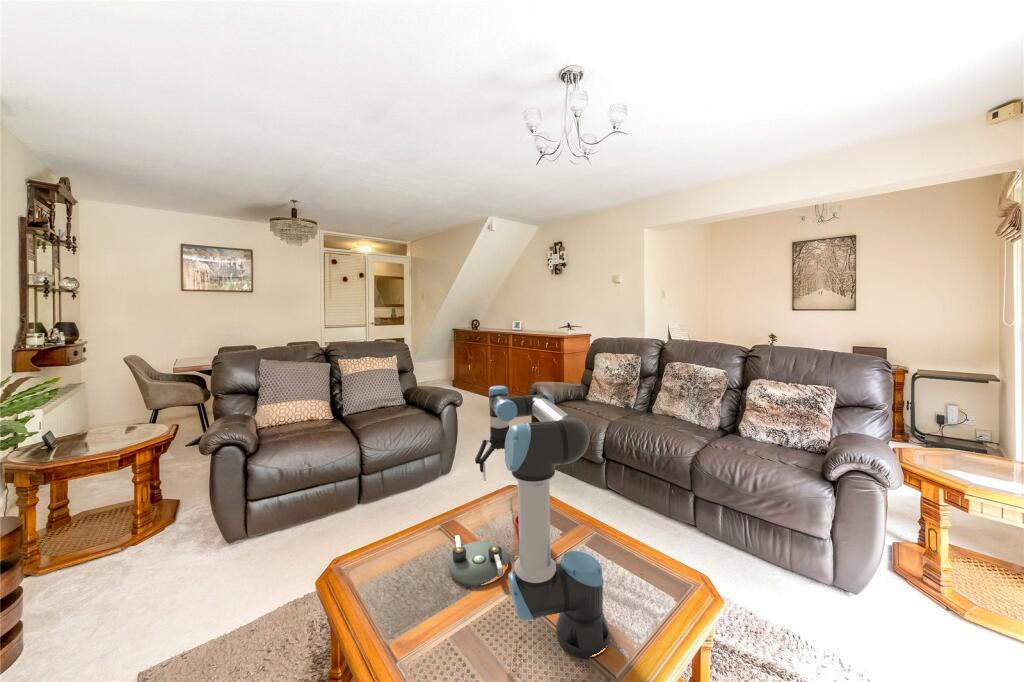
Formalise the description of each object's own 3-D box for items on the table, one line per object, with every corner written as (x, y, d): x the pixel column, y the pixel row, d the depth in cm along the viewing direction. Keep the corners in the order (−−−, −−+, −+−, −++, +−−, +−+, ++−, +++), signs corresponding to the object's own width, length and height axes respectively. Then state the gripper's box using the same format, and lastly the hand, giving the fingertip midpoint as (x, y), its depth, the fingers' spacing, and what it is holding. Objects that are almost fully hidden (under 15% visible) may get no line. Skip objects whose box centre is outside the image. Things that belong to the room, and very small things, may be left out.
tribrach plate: (514, 579, 136) (514, 573, 136) (451, 591, 131) (451, 585, 131) (502, 542, 157) (502, 536, 157) (447, 551, 152) (447, 545, 152)
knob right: (487, 554, 146) (487, 545, 146) (500, 552, 147) (500, 543, 147) (493, 577, 134) (493, 567, 134) (507, 574, 135) (507, 565, 135)
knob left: (467, 561, 142) (466, 552, 142) (453, 563, 141) (452, 554, 141) (463, 541, 155) (463, 532, 154) (451, 543, 153) (450, 534, 153)
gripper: (528, 419, 158) (529, 469, 160) (466, 425, 153) (468, 477, 155) (532, 425, 151) (534, 477, 153) (468, 431, 146) (471, 485, 148)
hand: (501, 477), depth 154 cm, fingers open, 13 cm apart
